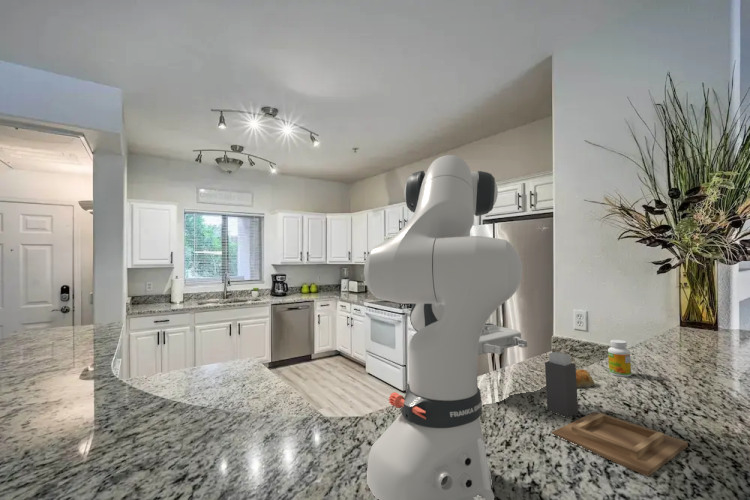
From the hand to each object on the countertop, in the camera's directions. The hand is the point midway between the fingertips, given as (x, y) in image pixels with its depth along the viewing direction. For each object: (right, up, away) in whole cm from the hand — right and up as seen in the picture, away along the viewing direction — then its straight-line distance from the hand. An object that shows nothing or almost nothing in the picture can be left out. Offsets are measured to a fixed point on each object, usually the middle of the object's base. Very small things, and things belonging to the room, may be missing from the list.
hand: (514, 347), depth 91 cm
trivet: (+10, -11, -24) cm, 28 cm away
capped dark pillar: (+7, -12, -11) cm, 17 cm away
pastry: (+19, -12, +6) cm, 24 cm away
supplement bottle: (+36, -12, +13) cm, 40 cm away
